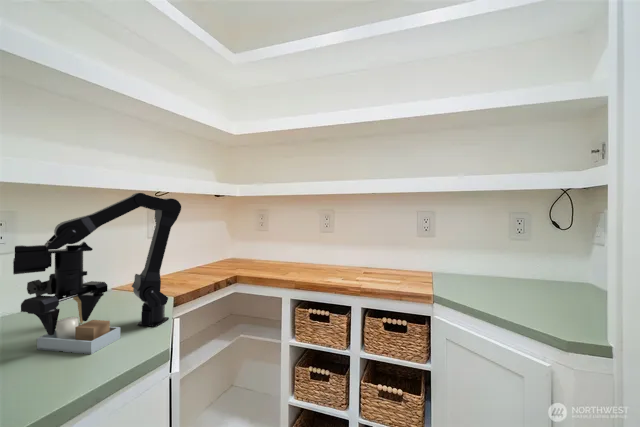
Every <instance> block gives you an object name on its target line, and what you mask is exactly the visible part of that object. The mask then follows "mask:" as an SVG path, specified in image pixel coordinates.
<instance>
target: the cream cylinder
mask: <svg viewBox="0 0 640 427" xmlns="http://www.w3.org/2000/svg"><path fill="white" fill-rule="evenodd" d="M78 324H79V316H69V317H64V318H61V319H59V320H57V325H56V329H55V330H56V338H59V339H72V340H75V330H76V327H77V326H78Z"/></svg>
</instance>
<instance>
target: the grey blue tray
mask: <svg viewBox="0 0 640 427" xmlns="http://www.w3.org/2000/svg"><path fill="white" fill-rule="evenodd" d="M79 325H82V323H80V324H79V323H78V326H79ZM119 339H121V326H120V327H119V326H110V332H108V333H106V334H104V335H102V336H100V337H98V338H96V339H94V340H92V341H85V340H72V339H59V338H56V329H55V332H54V335H48V333H45V334H43V335H40V336H38V337H37V338H36V350H37V351H49V352H59V351H63V352H62V353H71V352H72V354H73V353H74V354H83V353H84V354H83V355H92V354H94V353H97V352H98V351H99V350H101V349H102V348H105V347H107V346H109V345H110V344H112V343H114V342H116V341H118V340H119Z"/></svg>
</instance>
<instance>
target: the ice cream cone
mask: <svg viewBox="0 0 640 427" xmlns="http://www.w3.org/2000/svg"><path fill="white" fill-rule="evenodd" d="M87 282H88V281H87V280H86V278H85V277H84V276H83V283H87ZM72 300H73V301H75V302H76V303H77V309H78V310H77V311H78V318H79V322H80V324H84V321H82V309H81V300H80V299H79V298H78V296H77V297H74V298H72Z"/></svg>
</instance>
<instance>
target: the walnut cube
mask: <svg viewBox="0 0 640 427" xmlns="http://www.w3.org/2000/svg"><path fill="white" fill-rule="evenodd" d="M110 323H111V321H110V320H103V319H102V320H101V319H91V320H89V321H85V322H83V323H81V325H79V326H77V327H76V330H75V340H85V341H92V340H94V339H96V338H98V337H100V336H102V335H104V334H106V333H108V332H110V327H111V324H110Z"/></svg>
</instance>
